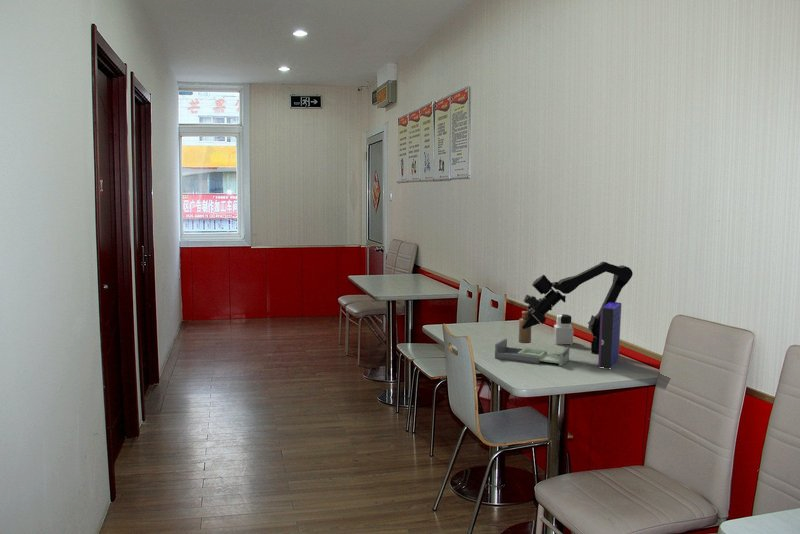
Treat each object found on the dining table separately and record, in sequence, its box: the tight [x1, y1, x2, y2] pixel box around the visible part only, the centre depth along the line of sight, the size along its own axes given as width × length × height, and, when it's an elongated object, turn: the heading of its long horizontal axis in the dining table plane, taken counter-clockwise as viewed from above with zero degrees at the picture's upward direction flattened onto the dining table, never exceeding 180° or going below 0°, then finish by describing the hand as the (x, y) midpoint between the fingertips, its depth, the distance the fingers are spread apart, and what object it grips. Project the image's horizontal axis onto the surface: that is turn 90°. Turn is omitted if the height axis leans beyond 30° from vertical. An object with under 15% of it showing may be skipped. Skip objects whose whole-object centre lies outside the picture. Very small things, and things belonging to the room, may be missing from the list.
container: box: [553, 313, 574, 346], centre depth 312 cm, size 8×8×13 cm
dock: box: [494, 338, 548, 365], centre depth 283 cm, size 18×12×6 cm, turn 62°
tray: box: [518, 346, 570, 367], centre depth 279 cm, size 19×12×5 cm, turn 62°
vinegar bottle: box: [518, 310, 532, 344], centre depth 295 cm, size 5×5×13 cm
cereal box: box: [597, 301, 622, 369], centre depth 274 cm, size 17×5×24 cm, turn 152°
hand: (521, 326), depth 295 cm, fingers closed on vinegar bottle, 5 cm apart
